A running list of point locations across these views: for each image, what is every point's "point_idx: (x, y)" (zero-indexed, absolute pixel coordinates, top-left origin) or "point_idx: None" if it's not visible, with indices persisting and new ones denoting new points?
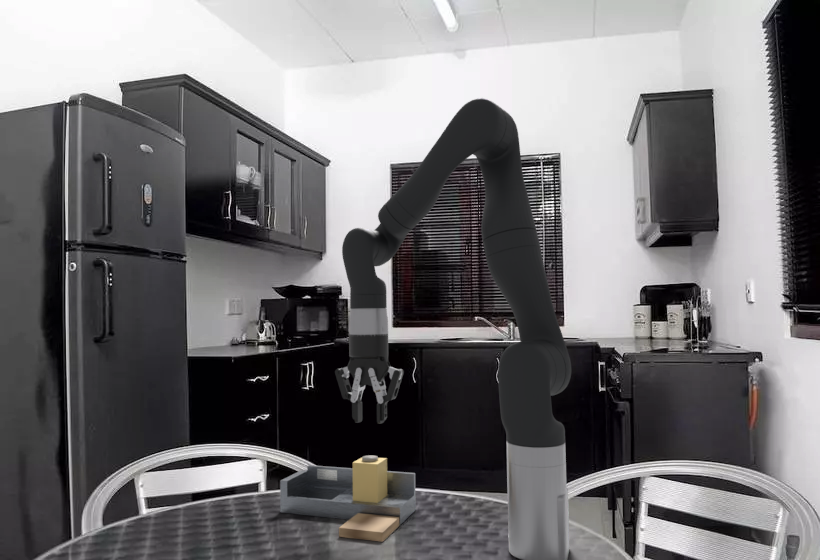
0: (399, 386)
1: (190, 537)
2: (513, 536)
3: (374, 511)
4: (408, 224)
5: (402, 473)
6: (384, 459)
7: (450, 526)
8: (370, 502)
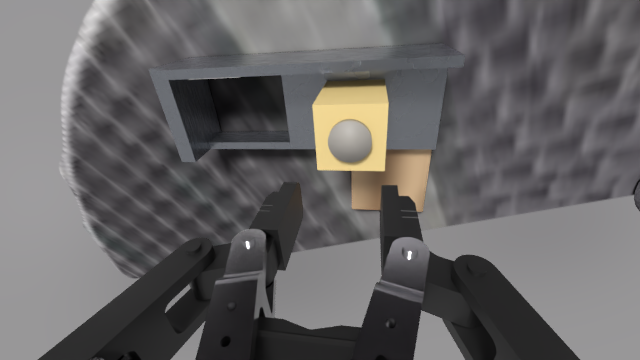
0: (556, 337)
1: (190, 233)
2: None
3: None
4: None
5: (426, 68)
6: (386, 119)
7: (529, 110)
8: None
